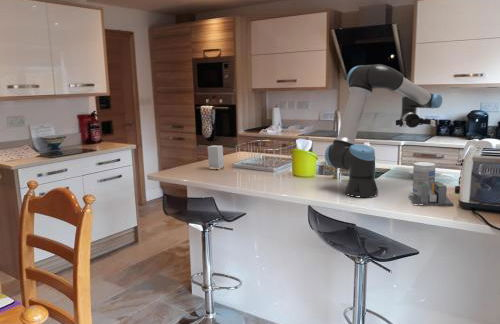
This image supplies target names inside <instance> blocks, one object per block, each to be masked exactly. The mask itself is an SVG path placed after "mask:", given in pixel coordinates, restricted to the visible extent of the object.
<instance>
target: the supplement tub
mask: <svg viewBox="0 0 500 324" xmlns="http://www.w3.org/2000/svg"><path fill="white" fill-rule="evenodd" d="M412 172H413V173H412V193H413V195H417V185H418V181H429V182H436V164H435V163H433V162H427V161H426V162H425V161H420V162H414V163H413V171H412Z"/></svg>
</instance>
